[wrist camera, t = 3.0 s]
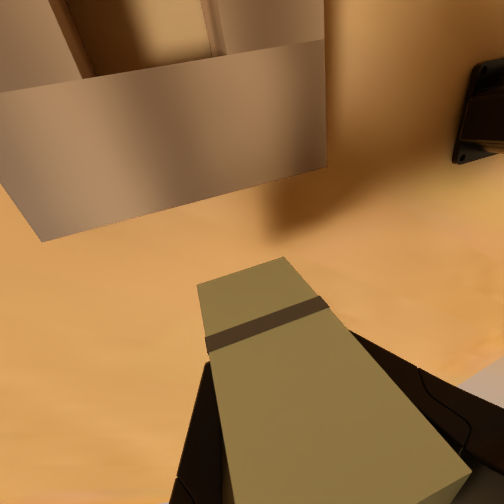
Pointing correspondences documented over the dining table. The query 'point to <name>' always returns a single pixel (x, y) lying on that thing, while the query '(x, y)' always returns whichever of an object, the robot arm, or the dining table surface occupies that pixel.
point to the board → (156, 114)
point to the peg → (313, 402)
